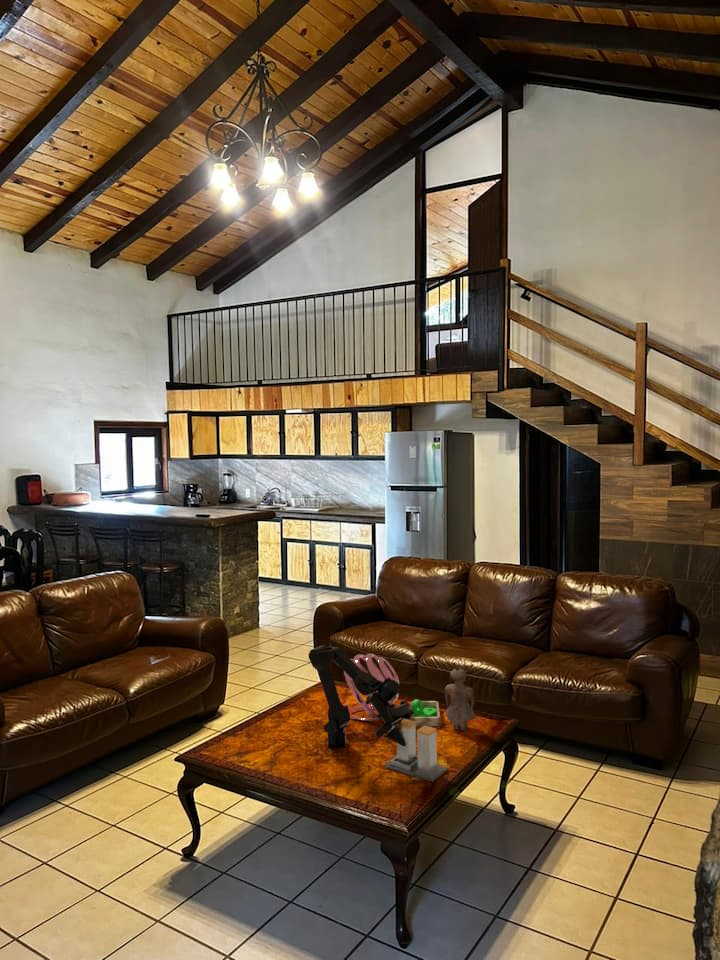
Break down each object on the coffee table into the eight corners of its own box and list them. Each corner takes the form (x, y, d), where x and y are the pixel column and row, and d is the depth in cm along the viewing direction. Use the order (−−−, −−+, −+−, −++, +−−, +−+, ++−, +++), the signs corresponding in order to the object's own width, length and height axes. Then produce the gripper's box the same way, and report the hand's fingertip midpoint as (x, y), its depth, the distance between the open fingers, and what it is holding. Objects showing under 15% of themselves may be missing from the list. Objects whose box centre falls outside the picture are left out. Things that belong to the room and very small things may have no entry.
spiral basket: (314, 678, 299) (366, 643, 295) (335, 672, 325) (383, 640, 321) (348, 738, 290) (402, 703, 286) (367, 727, 317) (416, 694, 313)
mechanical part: (422, 723, 298) (422, 704, 297) (411, 719, 302) (410, 701, 301) (439, 714, 306) (438, 696, 306) (428, 710, 311) (427, 693, 310)
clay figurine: (478, 725, 292) (477, 666, 291) (471, 735, 284) (470, 674, 282) (449, 720, 298) (447, 663, 296) (441, 730, 289) (439, 670, 287)
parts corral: (411, 726, 294) (411, 717, 294) (411, 708, 312) (410, 701, 312) (440, 725, 293) (440, 717, 293) (438, 708, 311) (438, 701, 311)
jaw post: (396, 762, 259) (396, 723, 258) (404, 756, 263) (403, 718, 262) (408, 766, 256) (408, 727, 254) (416, 760, 260) (415, 721, 259)
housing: (385, 767, 259) (384, 725, 258) (400, 756, 267) (399, 715, 266) (432, 782, 247) (431, 738, 246) (446, 770, 255) (445, 727, 254)
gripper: (381, 703, 252) (408, 741, 247) (409, 687, 267) (435, 722, 262) (364, 720, 258) (389, 757, 252) (392, 703, 273) (417, 737, 267)
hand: (409, 743), depth 258 cm, fingers closed on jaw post, 5 cm apart
